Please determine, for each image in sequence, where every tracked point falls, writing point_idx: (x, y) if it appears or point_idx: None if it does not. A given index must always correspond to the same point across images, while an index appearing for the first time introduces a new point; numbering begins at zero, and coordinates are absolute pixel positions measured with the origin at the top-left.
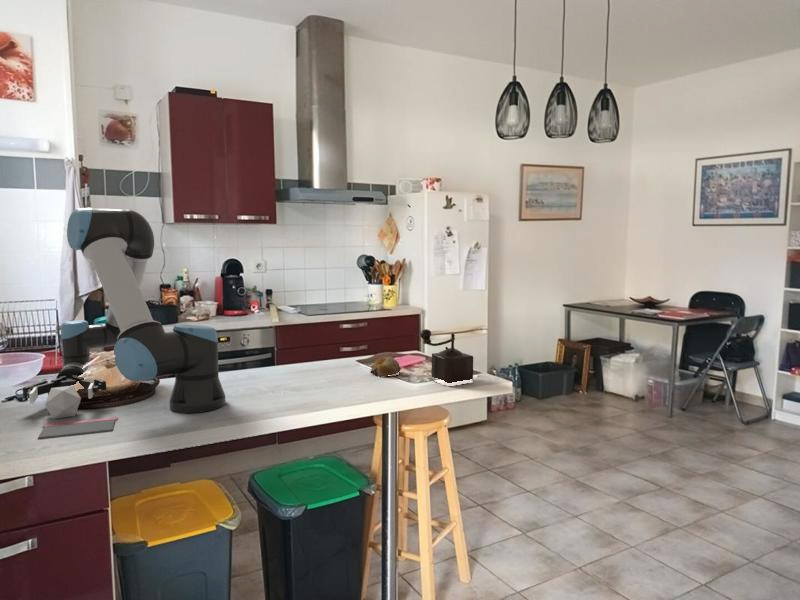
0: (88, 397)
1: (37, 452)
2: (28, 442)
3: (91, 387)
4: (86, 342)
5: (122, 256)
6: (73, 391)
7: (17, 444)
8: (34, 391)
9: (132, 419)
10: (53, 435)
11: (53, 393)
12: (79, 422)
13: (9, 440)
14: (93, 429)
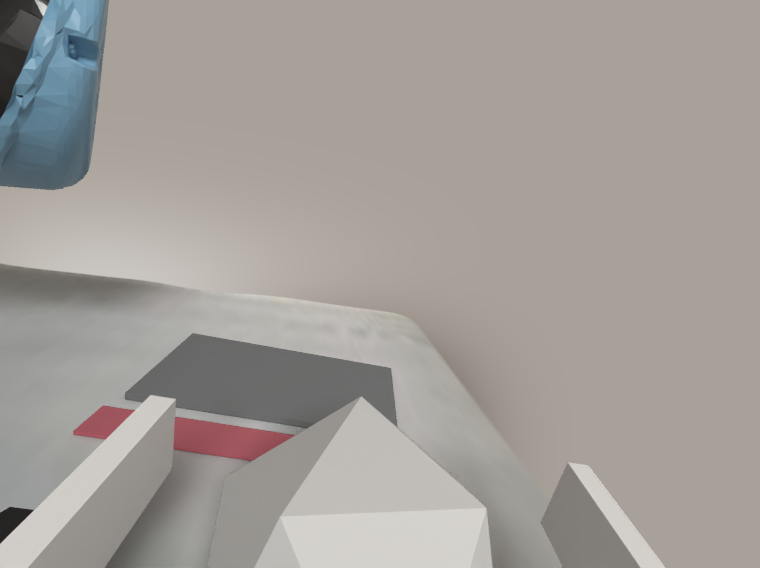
0: (172, 459)
1: (370, 322)
2: (406, 365)
3: (126, 419)
4: None
5: None
6: (281, 465)
7: (428, 366)
8: (618, 542)
9: (46, 388)
10: (352, 362)
11: (428, 455)
12: (264, 436)
13: (463, 394)
14: (241, 352)
